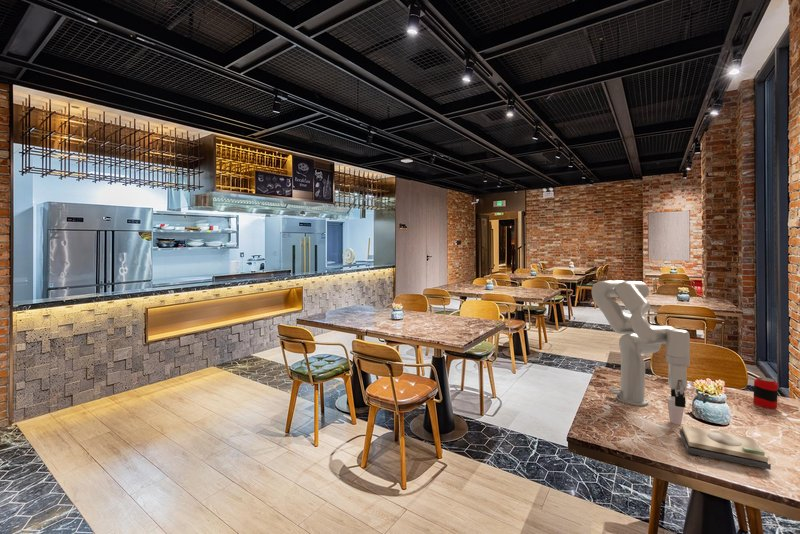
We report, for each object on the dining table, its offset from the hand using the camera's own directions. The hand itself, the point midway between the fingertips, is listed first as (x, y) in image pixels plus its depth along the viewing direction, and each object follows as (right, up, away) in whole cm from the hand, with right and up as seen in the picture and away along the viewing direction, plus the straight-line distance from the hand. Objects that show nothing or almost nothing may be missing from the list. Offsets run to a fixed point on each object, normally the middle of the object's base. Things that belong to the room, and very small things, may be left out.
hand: (677, 402), depth 149 cm
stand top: (-1, -7, -21) cm, 22 cm away
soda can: (+52, -8, +17) cm, 55 cm away
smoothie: (0, -9, +1) cm, 9 cm away
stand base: (-1, -10, -21) cm, 23 cm away
